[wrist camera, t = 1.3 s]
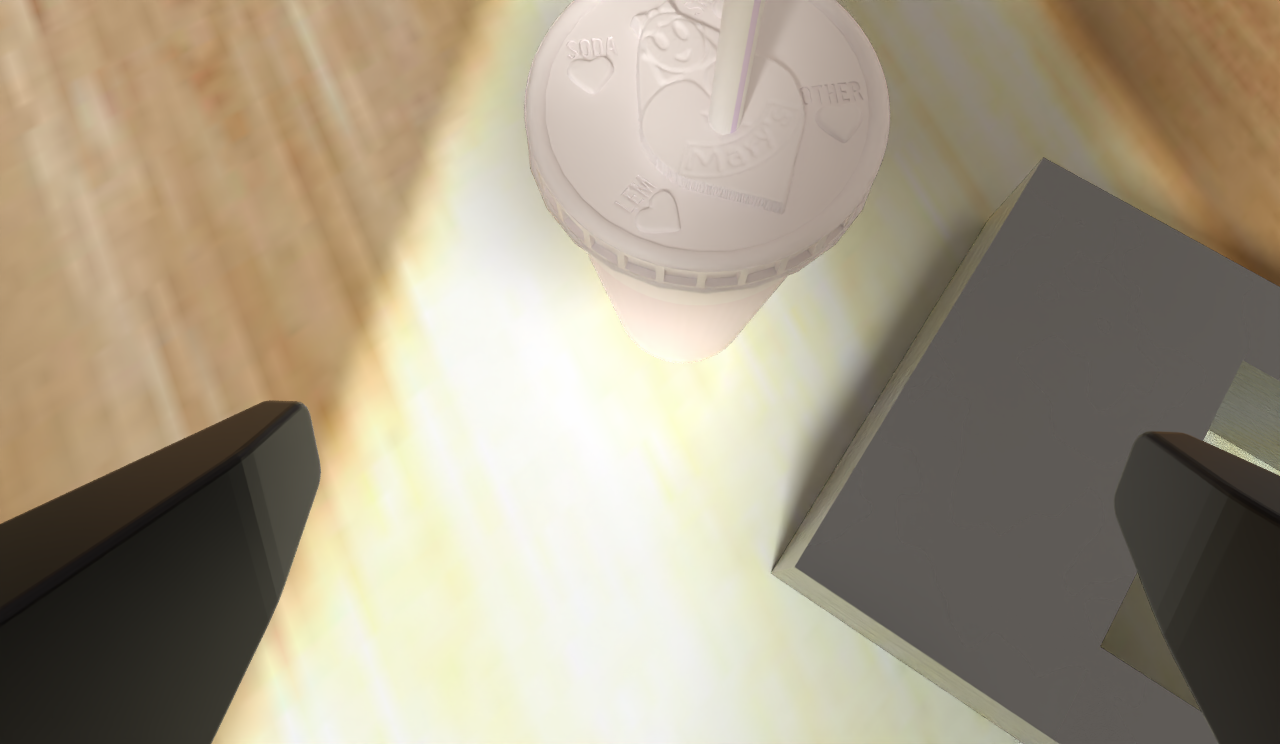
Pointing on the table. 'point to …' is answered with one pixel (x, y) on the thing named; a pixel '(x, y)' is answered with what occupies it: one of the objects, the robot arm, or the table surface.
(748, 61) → the smoothie
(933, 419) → the block
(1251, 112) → the table surface
